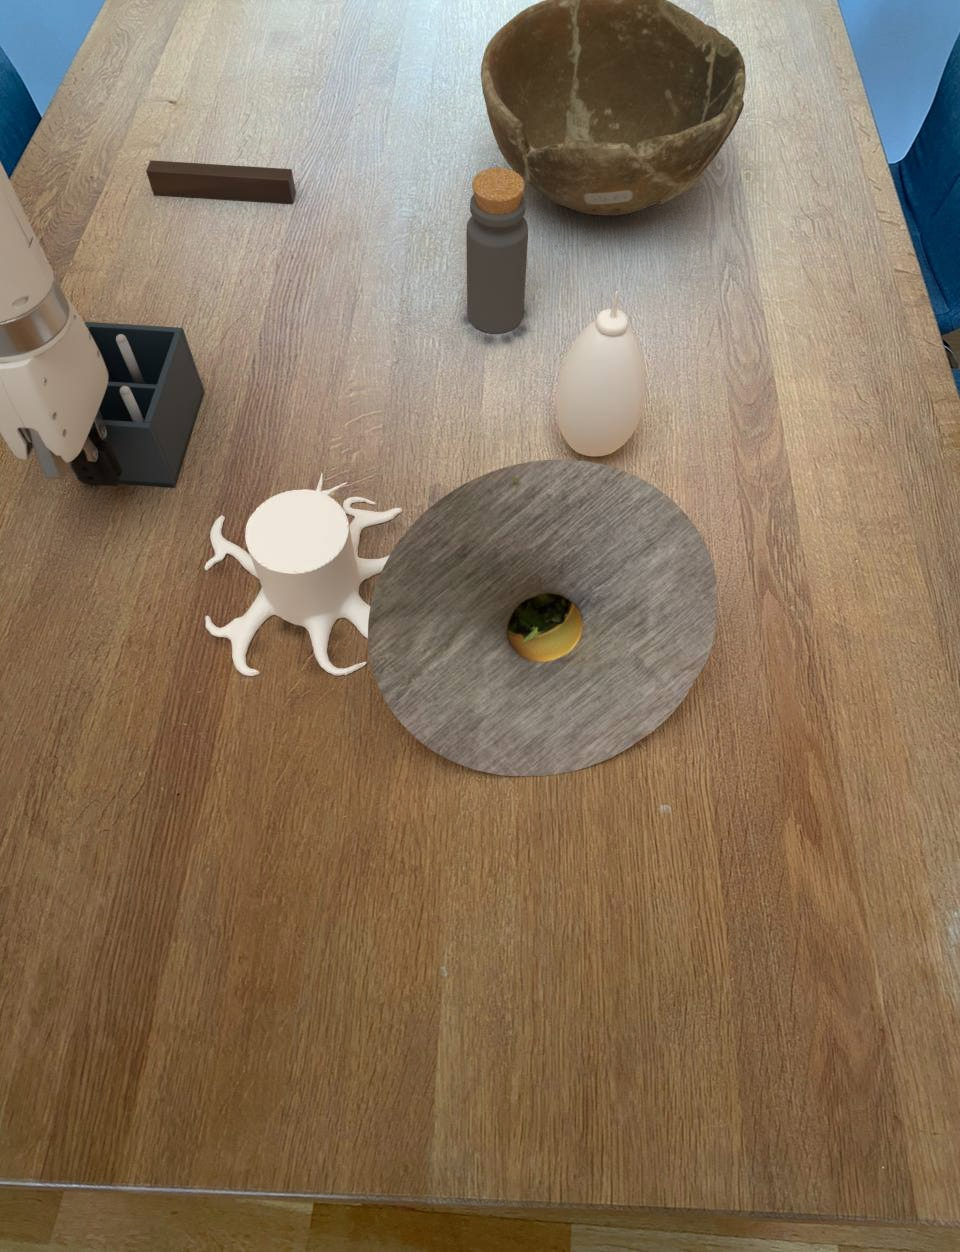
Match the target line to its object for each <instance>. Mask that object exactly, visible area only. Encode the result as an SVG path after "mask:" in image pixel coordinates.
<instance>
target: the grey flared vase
mask: <svg viewBox="0 0 960 1252" xmlns="http://www.w3.org/2000/svg"><path fill="white" fill-rule="evenodd" d="M389 555H390V556H389ZM389 555H388V556H389V558H388V560H387V561H386V563H385V565H384V567H383V569H382V572H380V573H379V576H378V579H377V581H376V584H375V587H374V591H373V594H372V598H371V601H370V605H369V606H370V612H369V620H368V639H367V644H368V654H369V660H370V664H371V668H372V672H373V675H374V679H375V681H376V684H377V686H378V689H379V691H380V694H381V695H382V697H383V699H384V701H385V702H386V704H387V706H388V707H389V709H390V710H391V712H392V714H393V715H394V716H395V717H396V719H397V720H398V721H399V722H400V724H401V725H402V726H403V727H404V728H405V729H406V730H407V731H408V732H409V734H411V735H412V736H413V737H414V738H415V739H416V740H418V741H419V743H421V744H423V746H425V747H426V748H428V749H429V750H431V751H433V752H434V753H435V754H437V755H439V756H441V757H443V758H445V759H447V760H449V761H450V762H453V763H456V764H458V765H460V766H463V767H467V768H469V769H471V770H475V771H477V772H478V771H479V772H483V773H487V774H491V775H497V776H506V777H507V776H510V777H546V776H554V775H560V774H565V773H570V772H571V773H572V772H573V771H574V772H575V771H578V770H582V769H586V768H589V767H591V766H594V765H598V764H600V763H602V762H605V761H607V760H609V759H611V758H614V757H616V756H617V755H619V754H621V753H622V752H624V751H625V750H628V749H629V748H631V747H632V746H634V745H635V744H636V743H638V742H640V741H641V740H642V739H644V738H646V737H647V736H649V735H650V734H652V733H653V732H655V730H657V728H658V727H660V726H661V725H662V724H663V723H664V722H665V721H667V719H668V718H669V717H670V716H671V715H672V714H673V713H674V712H675V710H676V709H678V707H679V706H680V705H681V703H682V702H683V701H684V699H685V698H686V697H687V696H688V694H689V691H690V690H691V688H692V686H693V684H694V683H695V681H696V679H697V678H698V676H699V675H700V674H701V672H702V670H703V668H704V666H705V665H706V663H707V661H708V658H709V657H710V653H711V650H712V647H713V643H714V638H715V634H716V629H717V617H718V606H719V591H718V581H717V576H716V570H715V566H714V562H713V559H712V557H711V554H710V552H709V549H708V547H707V544H706V542H705V540H704V539H703V537H702V535H701V533H700V532H699V530H698V528H697V527H696V525H695V524H694V523H693V521H692V520H691V519H690V517H689V516H688V515H687V514H686V512H685V511H684V510H683V509H682V508H681V507H680V506H679V505H678V504H677V503H676V502H675V501H674V500H673V499H672V498H670V497H669V496H668V495H667V494H666V493H664V492H663V491H662V490H660V489H659V488H658V487H656V486H654V485H653V484H651V483H650V482H648V481H647V480H644V479H642V478H640V477H638V476H637V475H635V474H633V473H630V472H628V471H625V470H623V469H620V468H617V467H613V466H610V465H606V464H603V463H598V462H593V461H587V460H579V459H577V460H576V459H541V460H533V461H527V462H522V463H517V464H513V465H509V466H505V467H502V468H497V469H496V470H493V471H490V472H488V473H485V474H482V475H480V476H477V477H475V478H473V479H472V480H469V481H467V482H465V483H463V484H462V485H460V486H458V487H456V488H455V489H453V490H452V491H450V492H449V493H447V494H446V495H444V496H443V497H442V498H440V499H439V500H438V501H436V502H435V503H433V505H431V506H430V507H429V508H428V509H426V511H424V512H423V513H422V514H421V515H420V516H419V517H418V518H417V519H416V520H415V521H414V522H413V523H412V524H411V525H410V527H409V528H408V529H407V530H406V531H405V533H404V534H403V535H402V536H401V538H399V540H398V542H397V543H396V544H395V546H394V548H393V550H392V551H391V552H390V554H389Z"/></svg>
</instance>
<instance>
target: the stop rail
mask: <svg viewBox="0 0 960 1252" xmlns="http://www.w3.org/2000/svg"><path fill="white" fill-rule="evenodd" d="M145 174H146V175H147V178H148V181H149V182H148V183H149V185H150V187H151V190H152V194H153V196H163V197H164V196H165V197H179V198H192V199H193V198H194V199H207V200H209V199H210V200H211V199H212V200H225V201H241V202H255V203H256V202H257V203H271V204H272V203H273V204H274V203H275V204H288V205H289V204H290V205H292V204H294V201H295V199H296V194H297V191H296V186H295V185H296V184H295V179H294V175H293V170H292V168H280V167H265V166H249V165H247V166H246V165H233V164H217V163H216V164H215V163H199V162H186V161H185V162H184V161H170V160H169V161H167V160H154V159H153V160H150V161H149V163H148V165H147V168H146V171H145Z"/></svg>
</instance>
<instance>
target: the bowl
mask: <svg viewBox="0 0 960 1252" xmlns="http://www.w3.org/2000/svg"><path fill="white" fill-rule="evenodd" d="M745 65H746V64H745V60H744V58H743V55H742V53H741V51H740V48H739V47H738V46H736V44H735V43H734V41H733V40H731V39H730V38H729V37H728V36H727V35H724V34H723V33H721V32H720V31H719V30H718V29H717V28H716V27H714V26H712V25H708V24H705V23H704V22H703V21H702V20H701V19H700V18H698V17H697V16H695V15H693V14H692V13H690V12H689V11H687V10H686V9H683V8H681V7H680V6H678V5H677V4H675V3H674V2H671V1H670V0H542V1H540V2H537V3H535V4H532V5H530V6H528V7H526V8H525V9H523V10H521V11H520V12H519V13H517V14H516V15H515V16H514V17H512V18H511V19H510V20H509V21H508V22H506V23H505V24H504V25H503V26H502V27H501V28H500V29H499V30H498V31H496V33H495V34H493V36H492V37H491V39H490V40H489V42H488V43H487V45H486V47H485V49H484V53H483V57H482V60H481V66H480V82H481V88H482V89H481V90H482V95H483V98H484V103H485V107H486V112H487V116H488V120H489V125H490V127H491V131H492V134H493V137H494V139H495V142H496V144H497V146H498V149H499V151H500V153H501V156H502V157H503V158H504V160H505V161H506V162H507V164H508V165H509V166H510V167H511V170H512V171H514V172H516V173H518V174H519V175H520V176H521V177H522V178H523V180H524V182H525V183H527V184H528V185H529V186H530V187H532V188H533V189H535V190H536V191H537V192H539V193H540V194H542V195H544V196H545V197H546V198H548V199H550V200H551V201H554V202H555V203H557V204H559V205H560V206H563V207H565V208H567V209H570V210H573V211H576V212H579V213H583V214H587V215H595V216H617V215H626V214H631V213H634V212H637V211H641V210H644V209H647V208H649V207H651V206H653V205H658V206H659V205H663V204H666V203H667V202H669V201H671V200H673V199H675V198H677V197H678V196H680V195H681V194H683V193H685V192H687V191H688V190H689V189H691V187H693V186H694V185H695V184H696V183H698V180H699V179H700V178H701V177H702V175H703V174H704V172H705V170H706V169H707V168H708V167H709V166H710V165H711V163H712V162H713V161H714V159H715V158H716V157H717V155H718V153H719V152H720V151H721V149H722V147H723V146H724V145H725V142H726V141H727V140H728V138H729V136H730V134H731V133H732V132H733V130H734V128H735V127H736V124H737V123H738V121H739V118H740V116H741V115H742V112H743V109H744V106H745V102H744V94H745V90H746V81H747V79H746V78H747V77H746V75H747V74H746V66H745Z"/></svg>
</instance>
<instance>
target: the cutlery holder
mask: <svg viewBox="0 0 960 1252" xmlns="http://www.w3.org/2000/svg"><path fill="white" fill-rule="evenodd" d="M84 323H85V325H86V327H87V328H88V330H89V332H90V334H91V336H92V337H93V339H94V341H95V343H96V345H97V347H98V349H99V351H100V353H101V356H102V358H103V360H104V363H105V366H106V368H107V372H108V384H107V388H106V391H105V394H104V397H103V399H102V402H101V405H100V413H101V416H102V418H103V421H104V423H105V426H106V429H107V437H106V439H105V440H104V441H108V443H109V445H110V447H111V449H112V451H113V453H114V454H115V456H116V458H117V460H118V462H119V464H120V466H121V468H122V473H121V476H119V477H118V479H119V481H118V484H120V485H132V486H133V485H134V486H146V487H147V486H148V487H149V486H150V487H160V488H161V487H162V488H165V487H166V488H176V486H177V482H178V479H179V476H180V472H181V469H182V465H183V462H184V459H185V456H186V453H187V450H188V446H189V443H190V440H191V436H192V433H193V429H194V426H195V425H196V424H195V423H196V420H197V417H198V413H199V410H200V407H201V403H202V401H203V397H204V394H205V388H204V384H203V382H202V379H201V377H200V374H199V370H198V368H197V365H196V362H195V359H194V356H193V354H192V351H191V348H190V345H189V341H188V340H187V337H186V333H185V331H184V328H183V327H179V326H177V327H176V326H160V325H147V324H146V325H143V324H131V323H130V324H127V323H112V322H97V321H85V322H84ZM71 470H72V472H73V473H74V475H75V477H76V479H77V481H79V482H81V480H80V479H79V477H78V475H77V474H76V472H75V470H74V469H73V467H72V465H71ZM118 484H117V485H118Z"/></svg>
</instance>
